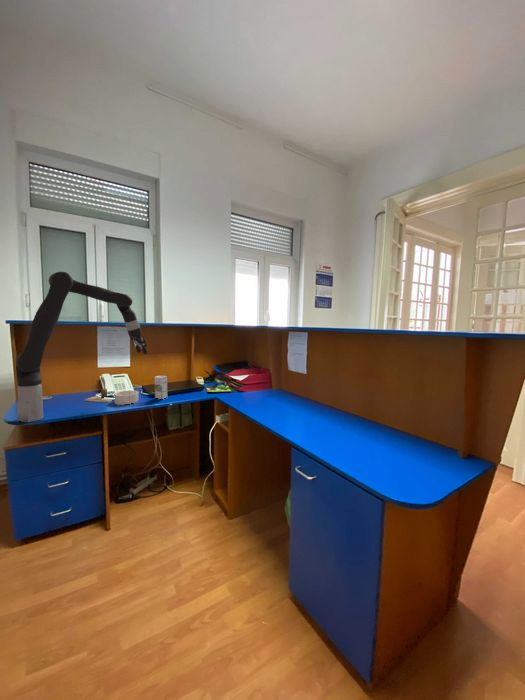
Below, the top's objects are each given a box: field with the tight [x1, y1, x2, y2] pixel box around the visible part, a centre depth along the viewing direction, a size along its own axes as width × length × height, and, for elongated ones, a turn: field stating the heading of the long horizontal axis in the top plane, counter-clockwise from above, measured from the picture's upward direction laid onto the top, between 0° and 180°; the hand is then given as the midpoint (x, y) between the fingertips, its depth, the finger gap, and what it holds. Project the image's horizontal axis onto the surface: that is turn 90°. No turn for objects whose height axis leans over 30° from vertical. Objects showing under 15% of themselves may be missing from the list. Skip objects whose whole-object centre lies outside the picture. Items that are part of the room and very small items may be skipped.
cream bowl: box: [113, 389, 140, 406], centre depth 178 cm, size 13×13×6 cm
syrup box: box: [154, 375, 168, 400], centre depth 187 cm, size 6×6×14 cm
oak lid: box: [82, 388, 114, 404], centre depth 184 cm, size 16×16×6 cm
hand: (142, 353), depth 180 cm, fingers open, 8 cm apart
